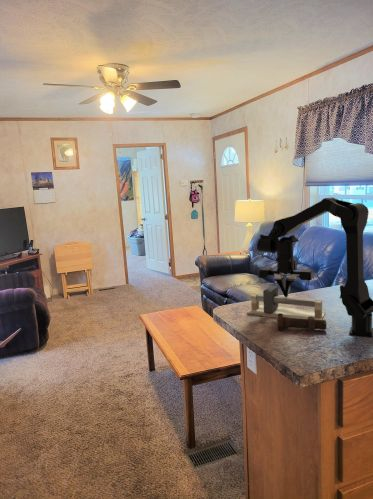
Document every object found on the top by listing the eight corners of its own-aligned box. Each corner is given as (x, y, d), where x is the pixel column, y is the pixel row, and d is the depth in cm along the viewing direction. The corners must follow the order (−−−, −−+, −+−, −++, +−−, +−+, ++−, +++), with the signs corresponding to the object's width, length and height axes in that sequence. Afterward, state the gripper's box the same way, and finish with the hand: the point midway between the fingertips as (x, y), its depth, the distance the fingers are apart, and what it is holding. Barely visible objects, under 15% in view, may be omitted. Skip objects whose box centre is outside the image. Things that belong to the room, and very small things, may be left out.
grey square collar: (271, 313, 136) (271, 291, 134) (263, 312, 137) (263, 291, 136) (278, 306, 143) (277, 286, 141) (270, 305, 144) (270, 285, 143)
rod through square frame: (320, 322, 127) (320, 305, 126) (247, 313, 140) (246, 297, 139) (325, 313, 135) (325, 296, 134) (256, 305, 148) (255, 290, 147)
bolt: (326, 337, 120) (277, 333, 123) (324, 324, 123) (277, 321, 127) (327, 325, 116) (277, 322, 120) (326, 312, 120) (277, 310, 123)
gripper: (316, 251, 136) (317, 292, 138) (266, 250, 145) (267, 289, 148) (310, 256, 126) (311, 301, 129) (256, 255, 136) (258, 297, 138)
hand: (286, 296), depth 136 cm, fingers closed
